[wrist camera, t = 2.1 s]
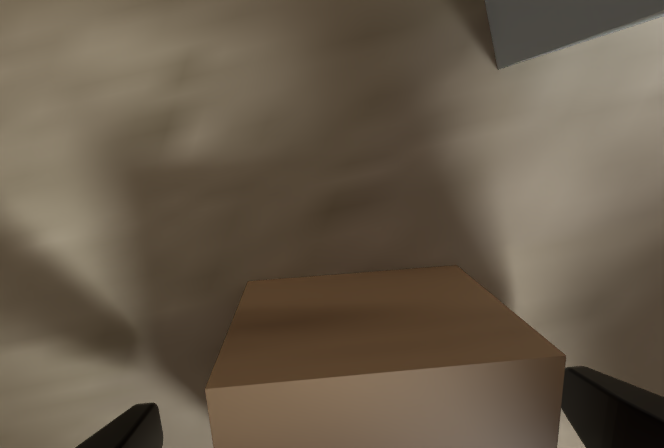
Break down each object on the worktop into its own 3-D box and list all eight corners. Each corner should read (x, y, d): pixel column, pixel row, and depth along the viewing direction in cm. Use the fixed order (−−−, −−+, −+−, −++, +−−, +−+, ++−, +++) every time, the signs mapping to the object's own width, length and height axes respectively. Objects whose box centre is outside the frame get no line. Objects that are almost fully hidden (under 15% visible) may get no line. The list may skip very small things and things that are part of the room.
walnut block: (450, 435, 10) (540, 617, 6) (268, 454, 10) (244, 656, 6) (454, 263, 9) (565, 355, 5) (249, 279, 9) (204, 388, 5)
